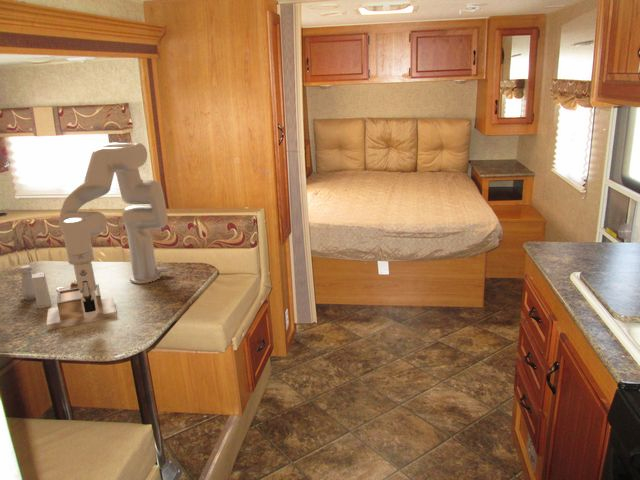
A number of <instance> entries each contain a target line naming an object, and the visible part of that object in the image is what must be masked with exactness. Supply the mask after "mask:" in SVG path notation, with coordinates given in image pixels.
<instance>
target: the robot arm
mask: <svg viewBox="0 0 640 480" xmlns="http://www.w3.org/2000/svg"><path fill="white" fill-rule="evenodd" d="M147 160H148V151H147V148H146V147H145V145H144V144H143V143H140V142H107V143H106V142H105V143H103V144H101V145H99V146H98V148H96V149H94V150H93V151H92V152H91V156H90V159H89V163H88V167H87V170H86V173H85V177H84V180H83V183H82V184H80V185H79V186H78V187H76V188H75V189H74V190H73V191H72V192H71V193H70V194H69V195H68V196H67V197H66V198H65V200H64V202H63V204H62V207H61V210H60V214H59V219H58V226H59V229H60V231H61V232H62V235H63V240H64V241H63V242H64V246H65V251H66V257H67V262H68V264H69V265H72V266H73V270H74V275H75V281H77V284H78V287H79V291H80V293H82V294H83V299H84V301H83V303H84V308H85V312H86V313H87V312H92V311H96V308H95V302H94V299H93V296H92V291H96V285H97V284H96V278H95V274H94V266H93V263H92V262H93V261H94V260H95V256H94V255H95V254H94V251H93V245H92V239H91V237H94V236H97V235H100V234H101V233H103V232H104V230H106V227H107V225H108V221H107V219H108V218H107V216H106V215H105V214H104V213H103V212H100V211H86V210H85V211H83V210H82V211H79V210H80V209H81V208H82V207H83V206H84V205H85V204H87V203H90V202H92V201H93V200H96V199H99V198H100V197H102V196H105V195H107V194H108V193H109V192H110V191H111V187H112V183H113V179H114V175H116V179H117V182H118V183H117V184H118V187H119V191H120V195H121V198H122V201H123V202H124V203H125V204H127V205H128V204H129V206H126V207H125V208H124V209H123V210H122V215H121V218H122V221H123V225H124V227H125V231H126V236H127V241H128V249H129V254H130V255H129V256H130V261H131V262H130V264H131V269H132V270H131V271H132V274H131V275H130V276H129V282H131V283H133V284H149V282H150V283H153V282H155V280H156V281H158V280H160V279H161V277H162V273H167V272H169V268H168V267H167V266H165V267H164V266H163V265H162V266H159V267H158V265H157V264H156V257H155V248H154V239H153V236H152V234H151V232H150V231H149V230H148V229H152V230H153V229H163V228H165V227H166V226H167V224H168V211H167V206H166V200H165V195H164V191H163V187H162V185H161V183H160V182H159V181H157V180H152V179H146V180H145V179H142V178H141V174H140V170H139V168H140V167H142V166H144V165H145V164H146V162H147ZM157 279H158V280H157ZM152 281H153V282H152ZM88 289H90V291H89V290H88ZM83 290H84V291H83ZM89 293H90V295H89Z"/></svg>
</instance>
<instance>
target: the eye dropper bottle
mask: <svg viewBox="0 0 640 480" xmlns="http://www.w3.org/2000/svg"><path fill="white" fill-rule="evenodd" d="M88 290H89V291H90V289H88ZM83 291H84V290H83ZM89 295H90V293H89ZM92 296H93V299H94V302H95V308H96V311H92V312H87V313H86V312H85V308H84V303H83V301H84V299H83V294H82V296H81V303H82V308H83V314H84V318H85V319H91V318H93V317H95V316H96V315H97V314H98V312H99V310H98V305H97V299H96V294H95V292H94V291H92Z"/></svg>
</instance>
